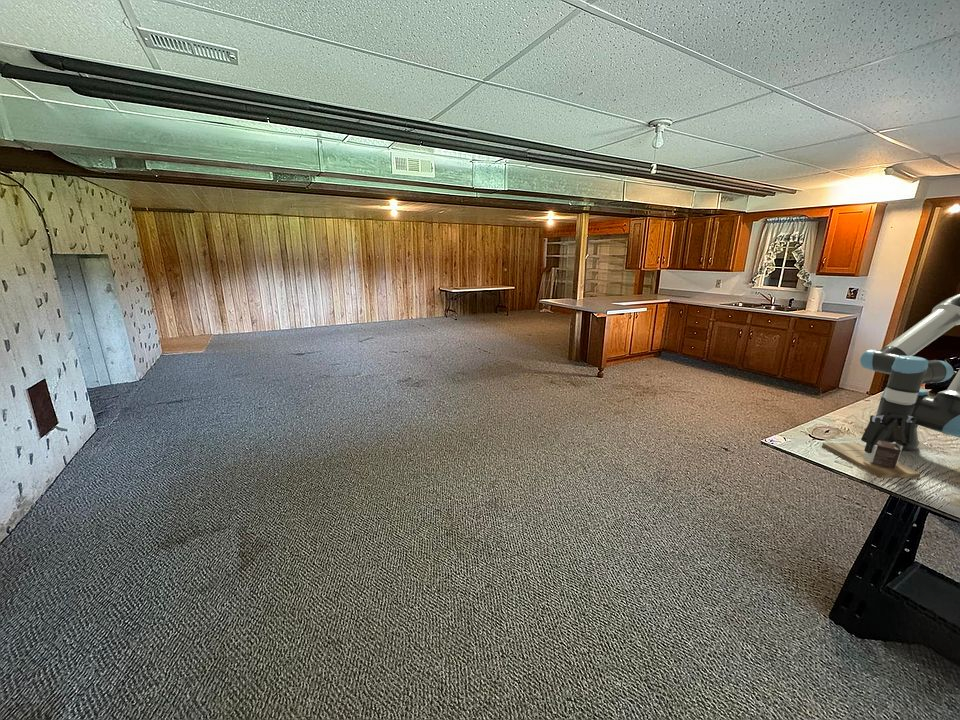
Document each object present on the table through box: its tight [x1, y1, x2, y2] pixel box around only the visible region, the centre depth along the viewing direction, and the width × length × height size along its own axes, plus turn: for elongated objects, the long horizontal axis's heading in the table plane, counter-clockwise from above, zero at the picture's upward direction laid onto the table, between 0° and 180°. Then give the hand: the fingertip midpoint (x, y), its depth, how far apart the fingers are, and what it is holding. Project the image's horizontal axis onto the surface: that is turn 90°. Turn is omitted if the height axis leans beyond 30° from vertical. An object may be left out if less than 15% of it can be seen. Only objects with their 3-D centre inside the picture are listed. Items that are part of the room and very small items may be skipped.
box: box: [872, 440, 902, 468], centre depth 133 cm, size 6×6×7 cm
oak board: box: [821, 442, 922, 479], centre depth 138 cm, size 14×22×2 cm, turn 0°
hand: (880, 460), depth 134 cm, fingers closed on box, 8 cm apart
